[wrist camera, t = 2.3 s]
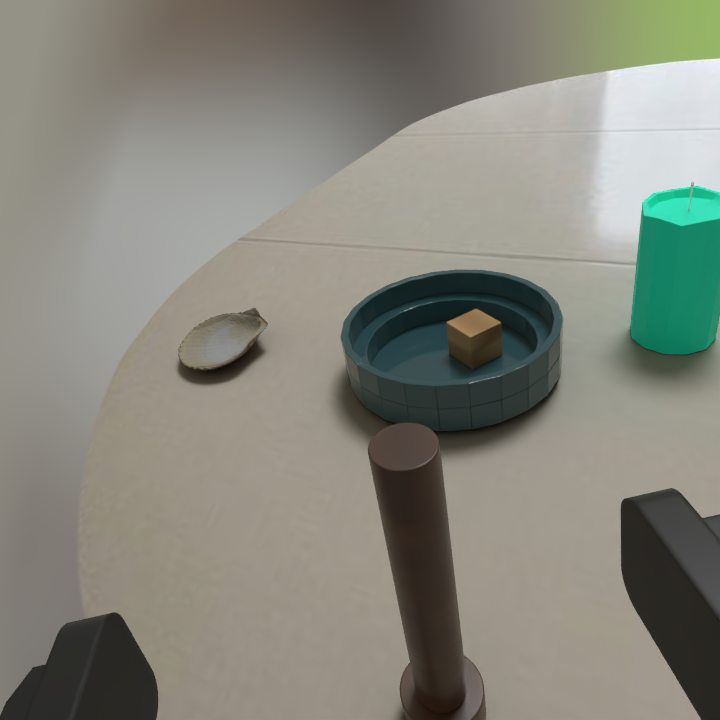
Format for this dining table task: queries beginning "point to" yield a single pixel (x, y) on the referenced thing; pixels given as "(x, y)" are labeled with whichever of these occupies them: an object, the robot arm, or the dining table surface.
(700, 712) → the robot arm
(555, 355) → the bowl
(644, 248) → the candle
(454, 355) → the block
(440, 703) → the muddler
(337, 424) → the dining table surface
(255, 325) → the seashell
